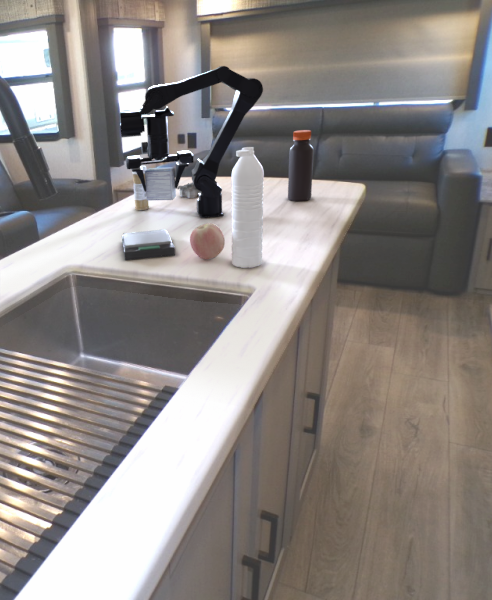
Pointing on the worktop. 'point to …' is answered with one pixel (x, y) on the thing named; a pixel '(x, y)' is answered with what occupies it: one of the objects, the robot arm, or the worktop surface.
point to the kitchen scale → (147, 244)
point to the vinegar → (300, 167)
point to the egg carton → (189, 191)
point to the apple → (207, 241)
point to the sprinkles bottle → (140, 192)
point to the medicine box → (160, 183)
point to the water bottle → (247, 210)
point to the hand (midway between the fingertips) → (160, 190)
